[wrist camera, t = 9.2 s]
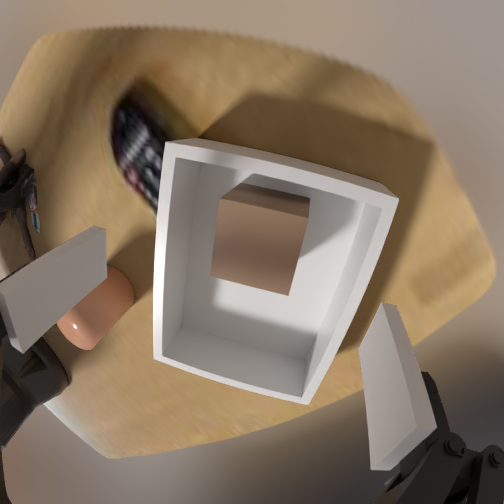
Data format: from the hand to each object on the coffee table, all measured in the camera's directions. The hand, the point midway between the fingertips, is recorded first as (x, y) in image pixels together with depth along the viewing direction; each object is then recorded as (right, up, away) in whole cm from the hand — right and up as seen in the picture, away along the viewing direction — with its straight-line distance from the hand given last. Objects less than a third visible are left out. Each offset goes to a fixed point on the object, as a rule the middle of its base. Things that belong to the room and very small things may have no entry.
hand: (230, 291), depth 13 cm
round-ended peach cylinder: (-13, -2, +15) cm, 20 cm away
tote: (+2, +1, +11) cm, 11 cm away
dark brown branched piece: (-27, +9, +14) cm, 32 cm away
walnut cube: (+2, +4, +9) cm, 10 cm away
